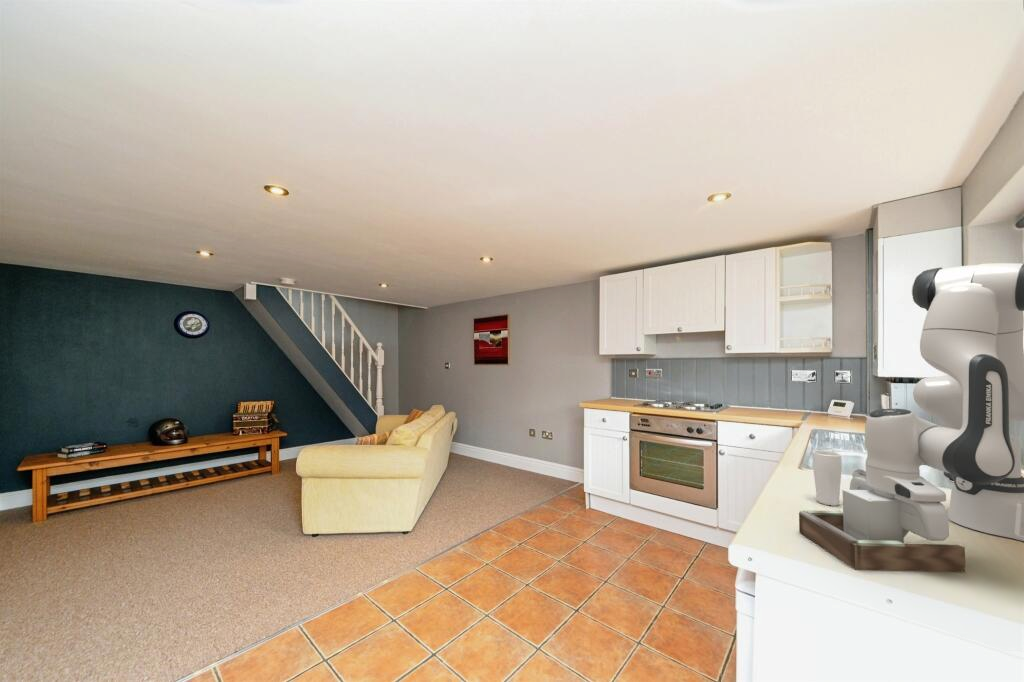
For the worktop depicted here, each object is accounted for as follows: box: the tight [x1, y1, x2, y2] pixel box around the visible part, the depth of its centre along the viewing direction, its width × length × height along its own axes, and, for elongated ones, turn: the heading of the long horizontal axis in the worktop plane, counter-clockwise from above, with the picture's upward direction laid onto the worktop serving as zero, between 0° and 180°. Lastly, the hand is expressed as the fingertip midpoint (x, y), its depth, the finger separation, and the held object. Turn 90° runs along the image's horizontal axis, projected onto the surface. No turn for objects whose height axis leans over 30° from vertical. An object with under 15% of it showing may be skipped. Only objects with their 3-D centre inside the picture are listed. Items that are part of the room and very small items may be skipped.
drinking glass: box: [812, 449, 843, 507], centre depth 115 cm, size 7×7×15 cm
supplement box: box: [841, 489, 903, 543], centre depth 88 cm, size 7×7×13 cm
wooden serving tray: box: [798, 509, 967, 573], centre depth 88 cm, size 22×17×6 cm
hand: (893, 541), depth 87 cm, fingers closed, pressing on supplement box
